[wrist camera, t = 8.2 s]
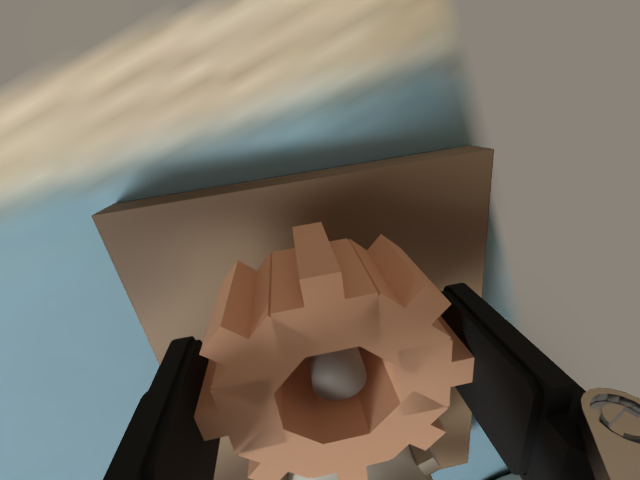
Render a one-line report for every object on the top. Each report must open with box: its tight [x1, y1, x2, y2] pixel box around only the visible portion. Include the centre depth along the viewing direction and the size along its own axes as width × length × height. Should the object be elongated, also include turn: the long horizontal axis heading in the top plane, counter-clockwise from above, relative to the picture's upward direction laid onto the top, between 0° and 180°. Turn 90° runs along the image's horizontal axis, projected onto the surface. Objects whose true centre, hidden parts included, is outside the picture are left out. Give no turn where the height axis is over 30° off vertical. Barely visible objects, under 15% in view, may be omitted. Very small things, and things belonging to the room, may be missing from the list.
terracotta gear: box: [194, 222, 474, 480], centre depth 9 cm, size 7×7×3 cm
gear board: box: [92, 145, 494, 480], centre depth 12 cm, size 18×14×6 cm
